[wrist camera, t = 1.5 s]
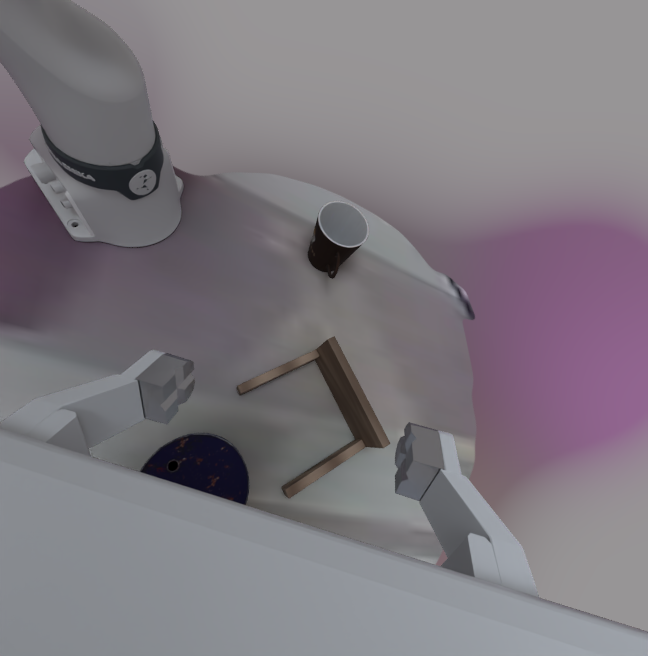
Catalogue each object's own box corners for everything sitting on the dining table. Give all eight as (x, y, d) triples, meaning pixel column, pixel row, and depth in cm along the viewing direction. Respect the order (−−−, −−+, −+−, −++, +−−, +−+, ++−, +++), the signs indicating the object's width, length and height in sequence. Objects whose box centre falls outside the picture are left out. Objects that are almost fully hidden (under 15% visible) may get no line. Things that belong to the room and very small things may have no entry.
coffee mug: (317, 228, 59) (335, 191, 50) (353, 255, 60) (377, 223, 51) (283, 269, 54) (297, 236, 45) (323, 298, 55) (344, 270, 46)
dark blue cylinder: (254, 474, 42) (272, 491, 29) (191, 535, 38) (177, 589, 25) (209, 418, 43) (206, 409, 30) (141, 472, 39) (101, 491, 25)
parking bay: (285, 495, 43) (299, 507, 36) (236, 388, 45) (240, 378, 38) (364, 442, 49) (390, 443, 42) (317, 350, 51) (334, 336, 44)
